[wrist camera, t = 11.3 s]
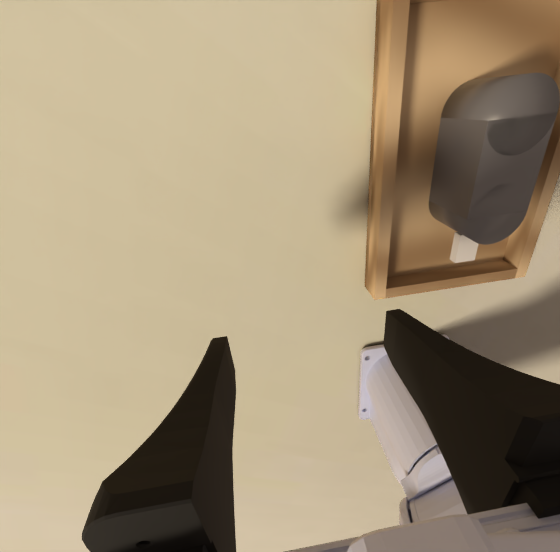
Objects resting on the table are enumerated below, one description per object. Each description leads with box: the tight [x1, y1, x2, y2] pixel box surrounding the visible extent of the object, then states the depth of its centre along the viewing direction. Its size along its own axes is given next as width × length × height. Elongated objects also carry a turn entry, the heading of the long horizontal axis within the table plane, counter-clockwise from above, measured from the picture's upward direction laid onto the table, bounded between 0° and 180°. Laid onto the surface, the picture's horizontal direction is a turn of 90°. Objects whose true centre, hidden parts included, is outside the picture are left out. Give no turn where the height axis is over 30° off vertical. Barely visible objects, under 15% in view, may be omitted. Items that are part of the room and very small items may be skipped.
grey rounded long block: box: [429, 73, 560, 263], centre depth 19 cm, size 11×4×4 cm, turn 5°
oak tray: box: [365, 0, 560, 300], centre depth 19 cm, size 18×12×2 cm, turn 6°
